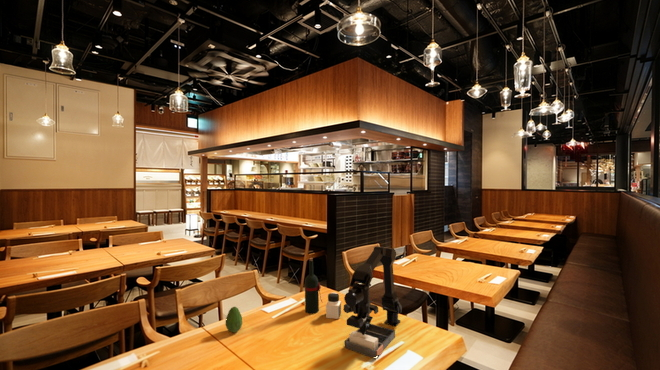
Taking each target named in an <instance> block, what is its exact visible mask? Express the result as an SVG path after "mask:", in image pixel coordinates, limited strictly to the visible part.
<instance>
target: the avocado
mask: <svg viewBox="0 0 660 370" xmlns="http://www.w3.org/2000/svg"><path fill="white" fill-rule="evenodd" d="M226 319H227V320H226ZM242 325H243V317H242V314H241V311H240V310H239V308H238V307H237V306H232V307H231V308H230V309H229V310H228V313H227V314H226V318H225V326H226V327H225V328H226V329H227V331H229V332H231V333H237V332H239V331H240V329H241V328H242Z"/></svg>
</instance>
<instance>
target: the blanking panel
mask: <svg viewBox="0 0 660 370" xmlns="http://www.w3.org/2000/svg"><path fill="white" fill-rule="evenodd" d="M356 331H357V330H352V331H351V332H350V334H349V336H348V337H349V342H352V343H355V344H357V345H360V346H363V347H366V348H369V349H372V350H376V349H377V348H378V338H375V337H372V336H369V335H366V334H365V335H362V333H360V332H356Z"/></svg>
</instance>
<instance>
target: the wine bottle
mask: <svg viewBox="0 0 660 370" xmlns="http://www.w3.org/2000/svg"><path fill="white" fill-rule="evenodd" d="M313 259H314V258H313V257H310V258H309V260H308V263H309V265H308V267H309V271H308V275H307V276H306V277H305V278H304V311H305V313H306V314H311V315H312V314H313V313H315V314H317V313H319V311H320V301H321V302H323V299H322V297H321V295H320V294H319V293H321V291H320V290H321V288H322V287H321V283H320V282H319V279H318V276H317V275H315V274H314V260H313ZM319 296H320V297H319ZM319 298H320V300H319ZM313 315H314V314H313Z"/></svg>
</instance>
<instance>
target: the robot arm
mask: <svg viewBox="0 0 660 370" xmlns="http://www.w3.org/2000/svg"><path fill="white" fill-rule="evenodd" d="M396 257H397V251H396V249H394V248H393V247H385V246H378V245H377V246H374V247H373V250H372V251H371V254H370V255H369V256H368V258H367V259H366V260H365V262H364V263H363V264H362V265H359V266H357V268H356V269H355V270H354V271H353V274H352V276H351V280H350V282H349V283H350V284H349V287H350V288H349V289H348V291H347V292H346V293H345V295H344V299H343V300H344V302H345V304H344V305H343V312H344V313H346V314H350V313H353V314H354V315H353V314H352V315H350V317H347V319H346V325H347V326H349V327H353V328H355V329H359V328H360V330H361V333H362V335H365V333H366V331H367V329H368V326H369V324H371V322H372V319H373V316H371V315H370V314H371V313H372V312H373V313H374V314H375V315H377V314H378V313H379V306H378V305H377V304H372V300H370V287H371V286H372V284H371V282H372V280H373V277H374V275H373V273H374V271H375V269H376V267H377V265H378V264H379V262H380V263H381V265H382V270H383V284H384V285H383V287H384V293H383V295H382V297H381V307H382V311H386V320H385V321H384V322H383V323H384V324H386V325H389V326H394V327H397V326H398V325H399V324H400V322H401V320H400V319H399V314H402V310H403V305H402V304H401V302H399V301H400V300H399V296H398V295H397V293H396V291H395V280H394V263H395V261H396V259H397V258H396Z"/></svg>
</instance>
